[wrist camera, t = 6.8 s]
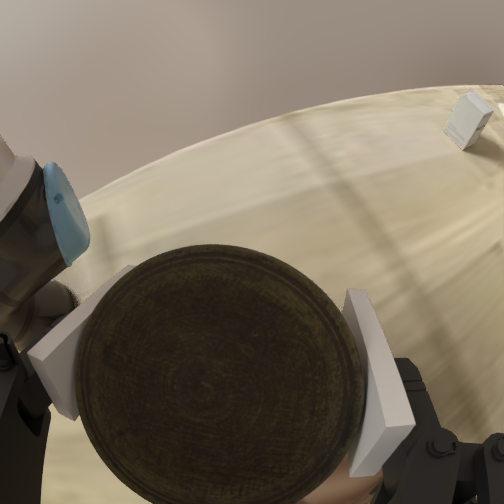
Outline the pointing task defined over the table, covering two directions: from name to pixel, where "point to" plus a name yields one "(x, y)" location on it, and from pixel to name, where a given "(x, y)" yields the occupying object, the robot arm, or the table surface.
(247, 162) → the table surface
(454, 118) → the supplement box
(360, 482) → the walnut tray
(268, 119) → the table surface
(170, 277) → the container
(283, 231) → the table surface
